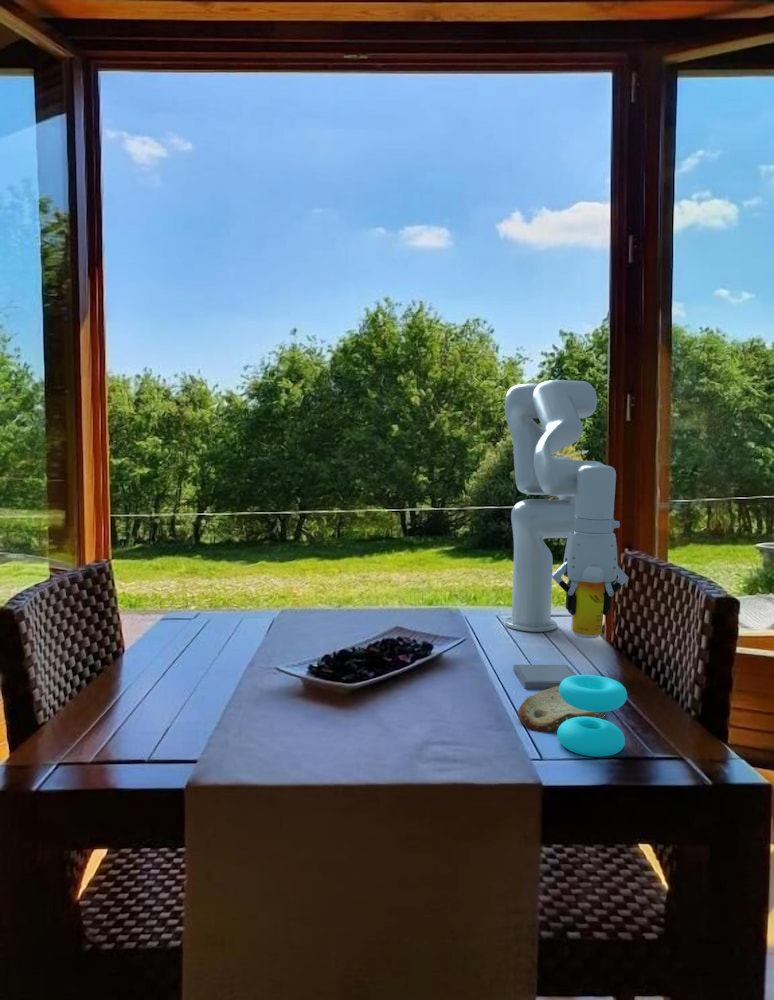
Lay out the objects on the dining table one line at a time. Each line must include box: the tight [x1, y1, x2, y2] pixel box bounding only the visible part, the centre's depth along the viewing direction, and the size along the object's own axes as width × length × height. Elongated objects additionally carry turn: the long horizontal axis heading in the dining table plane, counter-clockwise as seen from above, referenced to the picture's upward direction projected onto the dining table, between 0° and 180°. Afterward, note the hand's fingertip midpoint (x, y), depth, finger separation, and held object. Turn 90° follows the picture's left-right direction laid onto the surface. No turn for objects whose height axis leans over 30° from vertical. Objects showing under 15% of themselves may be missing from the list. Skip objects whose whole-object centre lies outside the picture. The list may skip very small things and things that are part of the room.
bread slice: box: [517, 686, 607, 734], centre depth 131 cm, size 18×18×4 cm
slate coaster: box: [512, 664, 577, 690], centre depth 149 cm, size 11×11×1 cm
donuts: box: [556, 674, 628, 758], centre depth 117 cm, size 10×10×10 cm
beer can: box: [570, 565, 605, 639], centre depth 156 cm, size 6×6×15 cm
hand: (587, 612), depth 156 cm, fingers closed on beer can, 6 cm apart
